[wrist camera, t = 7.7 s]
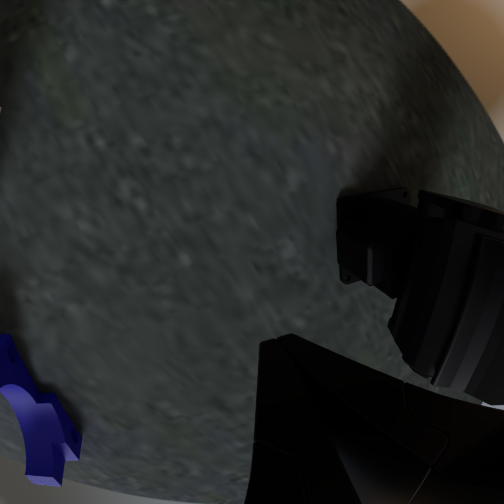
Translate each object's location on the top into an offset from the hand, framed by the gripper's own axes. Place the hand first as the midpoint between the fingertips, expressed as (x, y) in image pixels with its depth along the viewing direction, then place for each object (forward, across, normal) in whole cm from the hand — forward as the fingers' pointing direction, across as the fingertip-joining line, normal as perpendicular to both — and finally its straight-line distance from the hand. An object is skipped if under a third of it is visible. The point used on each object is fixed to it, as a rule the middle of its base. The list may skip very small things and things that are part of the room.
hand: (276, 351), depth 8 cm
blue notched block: (+14, +18, +10) cm, 25 cm away
